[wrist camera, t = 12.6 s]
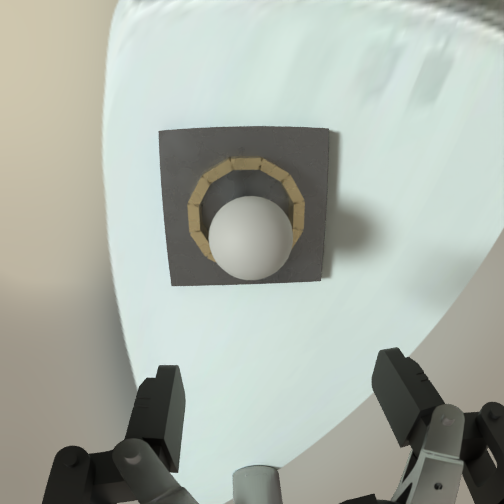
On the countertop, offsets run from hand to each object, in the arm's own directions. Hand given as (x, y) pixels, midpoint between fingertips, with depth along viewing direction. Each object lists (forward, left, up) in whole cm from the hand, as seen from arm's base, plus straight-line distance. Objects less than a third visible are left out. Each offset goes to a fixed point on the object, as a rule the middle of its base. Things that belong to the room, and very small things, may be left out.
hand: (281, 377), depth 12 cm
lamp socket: (+1, 0, -22) cm, 22 cm away
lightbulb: (+1, 0, -21) cm, 21 cm away
